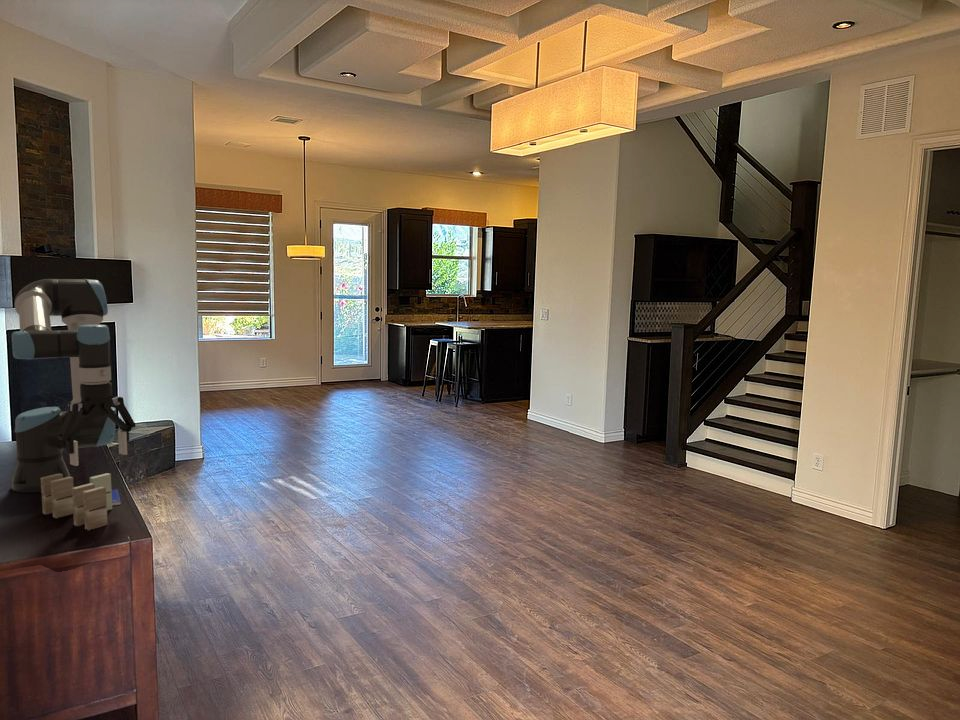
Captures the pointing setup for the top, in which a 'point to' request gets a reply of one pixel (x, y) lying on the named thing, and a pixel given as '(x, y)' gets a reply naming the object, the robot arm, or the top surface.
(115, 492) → the hard drive
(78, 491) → the domino
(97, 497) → the domino
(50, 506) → the domino
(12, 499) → the top surface
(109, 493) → the domino
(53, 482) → the domino
